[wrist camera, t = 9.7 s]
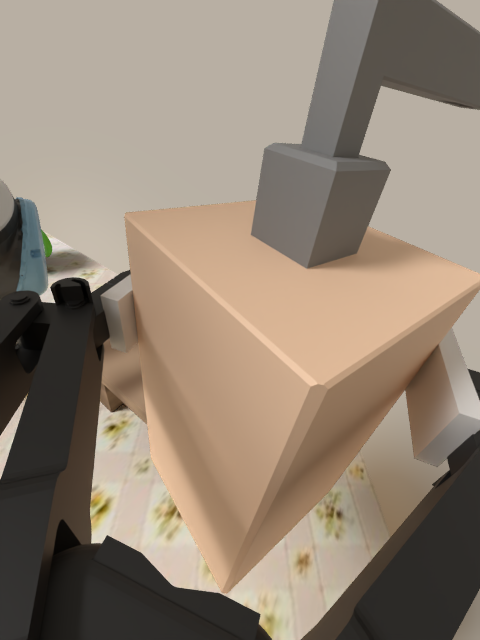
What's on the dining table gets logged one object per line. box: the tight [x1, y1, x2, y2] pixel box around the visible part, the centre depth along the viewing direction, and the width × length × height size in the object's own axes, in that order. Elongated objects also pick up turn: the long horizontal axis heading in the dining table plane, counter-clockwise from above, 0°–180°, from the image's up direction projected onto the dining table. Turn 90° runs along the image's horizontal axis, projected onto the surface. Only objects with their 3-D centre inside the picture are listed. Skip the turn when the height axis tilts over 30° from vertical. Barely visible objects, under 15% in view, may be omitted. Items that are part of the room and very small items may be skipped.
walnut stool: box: [100, 338, 147, 424], centre depth 38 cm, size 18×18×10 cm
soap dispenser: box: [124, 0, 480, 593], centre depth 14 cm, size 13×9×22 cm
